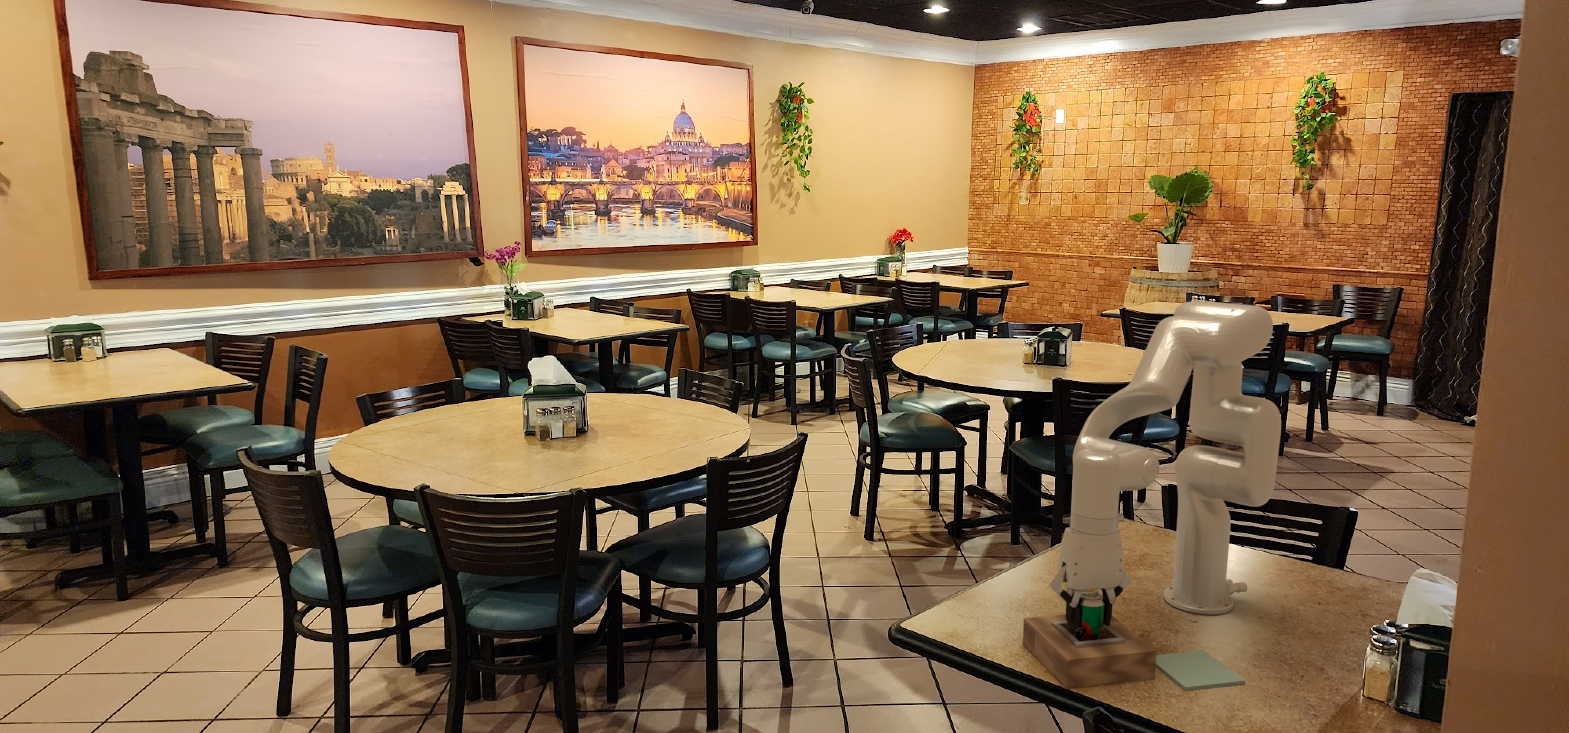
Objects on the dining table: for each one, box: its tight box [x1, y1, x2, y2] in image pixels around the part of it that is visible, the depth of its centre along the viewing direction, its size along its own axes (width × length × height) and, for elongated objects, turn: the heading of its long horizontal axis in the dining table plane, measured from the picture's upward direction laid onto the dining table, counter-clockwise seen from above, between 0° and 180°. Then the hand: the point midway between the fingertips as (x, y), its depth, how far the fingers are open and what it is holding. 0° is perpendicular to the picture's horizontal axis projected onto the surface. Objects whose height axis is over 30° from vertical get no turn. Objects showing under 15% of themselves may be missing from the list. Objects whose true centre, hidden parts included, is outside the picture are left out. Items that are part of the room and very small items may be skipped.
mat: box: [1156, 649, 1246, 691], centre depth 158 cm, size 11×11×1 cm
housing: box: [1022, 613, 1158, 690], centre depth 162 cm, size 16×16×6 cm
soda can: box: [1072, 591, 1105, 642], centre depth 161 cm, size 5×5×12 cm
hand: (1088, 623), depth 161 cm, fingers closed on soda can, 5 cm apart
